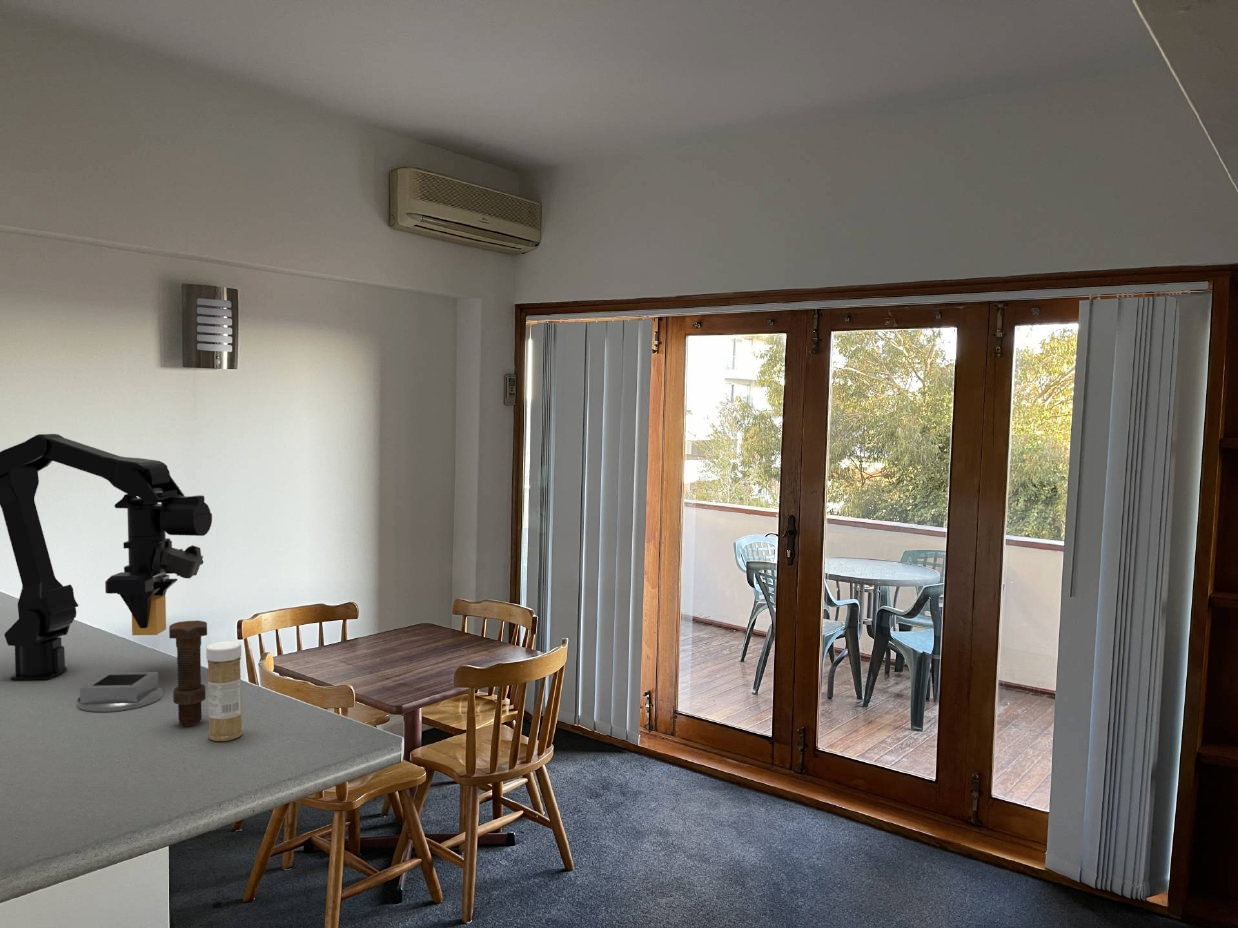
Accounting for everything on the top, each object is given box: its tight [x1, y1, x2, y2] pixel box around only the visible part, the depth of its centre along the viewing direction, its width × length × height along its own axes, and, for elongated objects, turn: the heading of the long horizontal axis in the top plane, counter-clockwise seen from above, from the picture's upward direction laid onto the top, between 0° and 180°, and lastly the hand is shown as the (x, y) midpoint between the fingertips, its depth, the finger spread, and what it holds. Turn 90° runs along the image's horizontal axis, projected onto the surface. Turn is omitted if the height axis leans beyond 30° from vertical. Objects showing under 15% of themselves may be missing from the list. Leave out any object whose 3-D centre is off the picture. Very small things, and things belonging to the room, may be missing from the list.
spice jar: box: [206, 640, 243, 742], centre depth 132 cm, size 5×5×14 cm
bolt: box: [168, 620, 208, 728], centre depth 137 cm, size 6×5×15 cm
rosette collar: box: [76, 671, 163, 713], centre depth 148 cm, size 12×12×3 cm
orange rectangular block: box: [131, 594, 167, 636], centre depth 159 cm, size 4×4×6 cm
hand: (149, 624), depth 159 cm, fingers closed on orange rectangular block, 4 cm apart
